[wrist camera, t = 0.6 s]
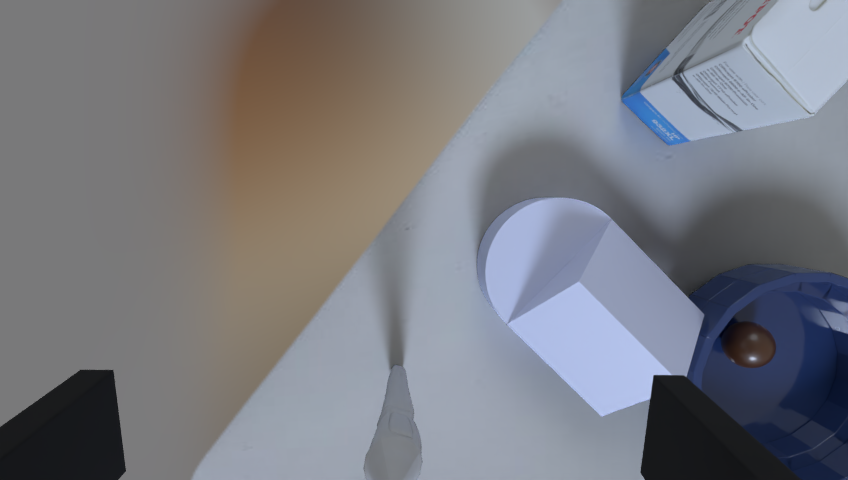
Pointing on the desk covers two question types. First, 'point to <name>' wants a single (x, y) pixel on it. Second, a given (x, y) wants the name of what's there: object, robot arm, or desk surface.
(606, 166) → the desk surface
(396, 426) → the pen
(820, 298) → the bowl
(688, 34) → the ink box
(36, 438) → the robot arm
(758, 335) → the ball
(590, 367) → the wedge on round base
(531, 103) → the desk surface
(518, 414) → the desk surface
